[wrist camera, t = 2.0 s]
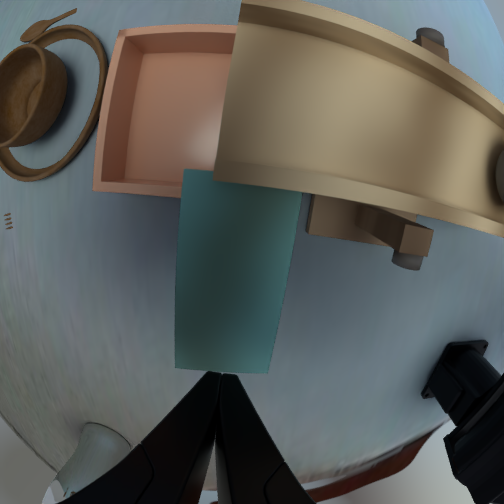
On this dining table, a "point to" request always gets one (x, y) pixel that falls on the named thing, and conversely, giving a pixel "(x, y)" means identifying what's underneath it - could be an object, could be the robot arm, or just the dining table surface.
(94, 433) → the beer glass
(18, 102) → the place setting
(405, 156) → the lever
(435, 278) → the dining table surface
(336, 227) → the lever stand
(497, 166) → the ball
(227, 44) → the dish
